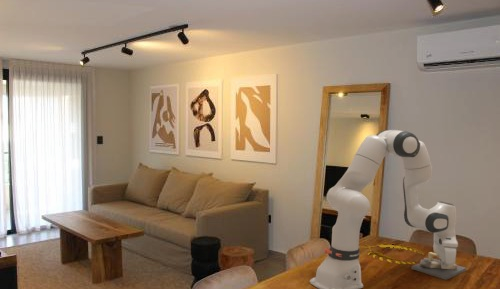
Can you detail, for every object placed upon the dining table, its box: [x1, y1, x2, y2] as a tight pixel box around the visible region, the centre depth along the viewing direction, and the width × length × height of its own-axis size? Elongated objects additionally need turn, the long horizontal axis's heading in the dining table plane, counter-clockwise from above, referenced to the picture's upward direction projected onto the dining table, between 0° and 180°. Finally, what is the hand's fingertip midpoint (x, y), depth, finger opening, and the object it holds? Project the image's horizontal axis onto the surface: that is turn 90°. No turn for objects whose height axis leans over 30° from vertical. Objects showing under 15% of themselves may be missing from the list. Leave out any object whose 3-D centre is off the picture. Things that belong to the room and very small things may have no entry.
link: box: [419, 258, 458, 270], centre depth 179 cm, size 15×5×2 cm, turn 82°
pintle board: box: [410, 251, 467, 281], centre depth 180 cm, size 20×16×5 cm
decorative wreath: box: [361, 242, 426, 265], centre depth 204 cm, size 35×2×30 cm
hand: (442, 267), depth 176 cm, fingers closed
